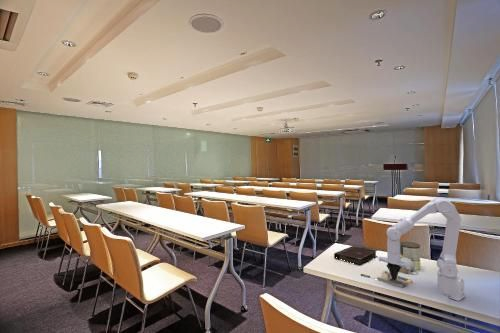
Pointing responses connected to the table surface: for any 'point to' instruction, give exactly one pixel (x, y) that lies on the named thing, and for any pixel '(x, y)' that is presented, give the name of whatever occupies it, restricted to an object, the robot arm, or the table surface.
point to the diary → (356, 255)
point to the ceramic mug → (404, 270)
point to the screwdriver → (367, 276)
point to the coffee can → (411, 253)
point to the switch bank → (397, 281)
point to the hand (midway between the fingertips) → (394, 279)
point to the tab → (385, 275)
